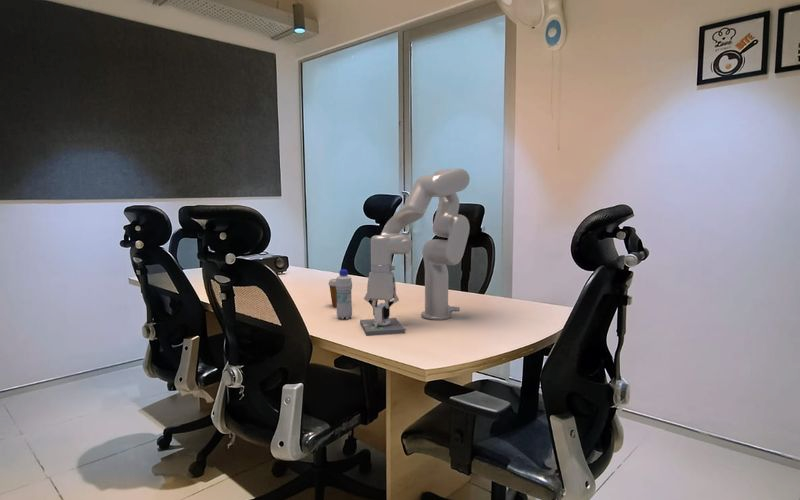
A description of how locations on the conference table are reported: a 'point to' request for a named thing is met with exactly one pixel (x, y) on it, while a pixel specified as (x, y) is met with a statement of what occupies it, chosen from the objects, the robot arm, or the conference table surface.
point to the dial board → (382, 327)
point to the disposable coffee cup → (333, 292)
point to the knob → (380, 316)
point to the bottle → (344, 295)
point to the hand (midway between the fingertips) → (381, 317)
